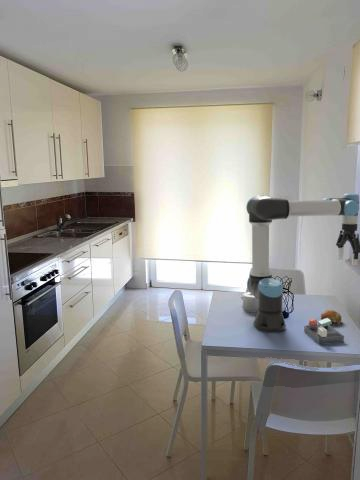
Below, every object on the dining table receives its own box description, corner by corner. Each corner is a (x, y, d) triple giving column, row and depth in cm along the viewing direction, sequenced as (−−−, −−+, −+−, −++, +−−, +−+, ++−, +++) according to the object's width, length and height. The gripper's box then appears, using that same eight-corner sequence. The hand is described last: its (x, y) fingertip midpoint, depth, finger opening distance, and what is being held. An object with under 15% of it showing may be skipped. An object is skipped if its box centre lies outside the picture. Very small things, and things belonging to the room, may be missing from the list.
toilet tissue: (245, 303, 224) (245, 289, 222) (263, 309, 214) (263, 294, 212) (234, 307, 218) (234, 292, 217) (252, 313, 208) (252, 298, 206)
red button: (311, 326, 178) (311, 321, 178) (307, 323, 182) (307, 318, 181) (318, 326, 179) (318, 321, 178) (314, 323, 182) (314, 318, 182)
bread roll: (341, 328, 195) (343, 312, 197) (339, 326, 187) (341, 310, 188) (321, 324, 200) (323, 309, 202) (318, 322, 192) (320, 307, 193)
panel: (318, 344, 169) (319, 336, 169) (304, 331, 183) (304, 324, 182) (343, 342, 171) (344, 334, 170) (327, 329, 185) (327, 322, 184)
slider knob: (321, 337, 169) (322, 329, 169) (317, 333, 173) (317, 326, 172) (326, 336, 170) (327, 329, 169) (322, 333, 173) (322, 326, 172)
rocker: (322, 327, 179) (321, 324, 179) (318, 324, 183) (317, 321, 182) (331, 323, 180) (331, 320, 179) (327, 320, 183) (327, 317, 183)
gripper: (370, 226, 189) (367, 267, 192) (343, 220, 213) (341, 256, 217) (356, 226, 188) (354, 268, 192) (330, 220, 212) (328, 257, 216)
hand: (347, 262), depth 204 cm, fingers open, 13 cm apart
